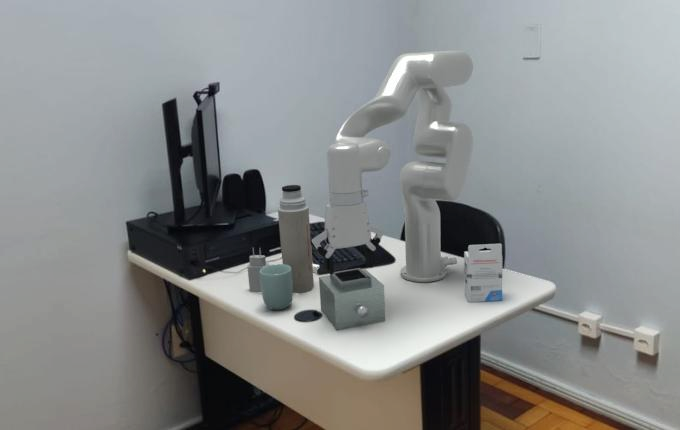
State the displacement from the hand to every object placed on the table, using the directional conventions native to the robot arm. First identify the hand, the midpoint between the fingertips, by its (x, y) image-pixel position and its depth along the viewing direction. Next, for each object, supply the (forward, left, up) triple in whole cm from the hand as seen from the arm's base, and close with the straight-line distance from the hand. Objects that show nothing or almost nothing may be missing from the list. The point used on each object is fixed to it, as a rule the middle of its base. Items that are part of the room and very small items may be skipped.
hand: (349, 269), depth 145 cm
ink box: (-33, +4, -12) cm, 35 cm away
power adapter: (+17, -26, -12) cm, 33 cm away
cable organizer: (+3, -35, -12) cm, 37 cm away
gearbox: (0, 0, -12) cm, 12 cm away
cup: (+15, -13, -12) cm, 23 cm away
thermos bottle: (+7, -23, -12) cm, 27 cm away
